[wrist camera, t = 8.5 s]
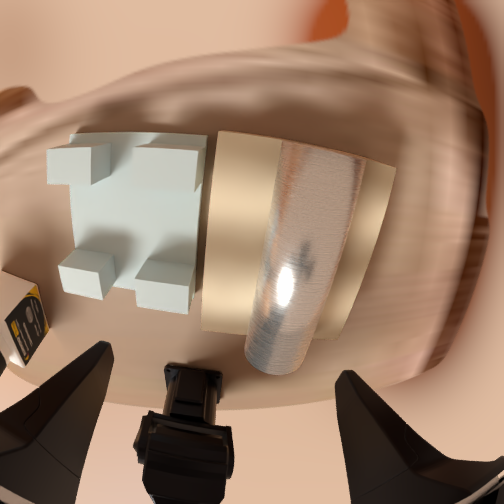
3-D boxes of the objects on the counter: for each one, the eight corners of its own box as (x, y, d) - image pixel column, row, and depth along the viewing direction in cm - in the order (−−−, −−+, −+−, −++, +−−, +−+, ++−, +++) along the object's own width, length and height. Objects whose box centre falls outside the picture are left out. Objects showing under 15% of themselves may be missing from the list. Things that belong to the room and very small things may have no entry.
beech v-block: (326, 310, 24) (337, 339, 21) (206, 299, 23) (200, 330, 20) (370, 158, 18) (396, 168, 15) (223, 130, 17) (218, 131, 14)
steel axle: (297, 333, 21) (308, 375, 17) (243, 330, 21) (245, 374, 17) (347, 153, 15) (382, 165, 11) (276, 138, 14) (291, 143, 11)
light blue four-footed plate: (195, 293, 23) (188, 321, 20) (84, 275, 22) (65, 298, 19) (208, 135, 17) (199, 137, 14) (75, 133, 16) (46, 138, 13)
